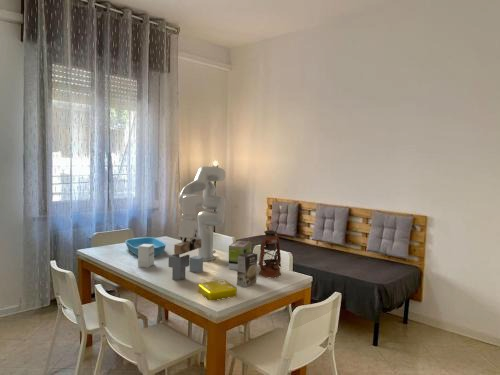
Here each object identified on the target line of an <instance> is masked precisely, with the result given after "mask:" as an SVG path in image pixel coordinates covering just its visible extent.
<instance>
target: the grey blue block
mask: <svg viewBox="0 0 500 375" xmlns="http://www.w3.org/2000/svg"><path fill="white" fill-rule="evenodd" d="M203 270H204V261H203V257H199V256H198V255H194V256H191V257H190V258H189V272H192V273H197V274H199V273H201V272H203Z"/></svg>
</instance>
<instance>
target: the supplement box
mask: <svg viewBox="0 0 500 375" xmlns="http://www.w3.org/2000/svg"><path fill="white" fill-rule="evenodd" d="M153 265H155V256H154V244H142V245H140V246H138V256H137V267H139V268H150V267H152V266H153Z"/></svg>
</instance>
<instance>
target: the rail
mask: <svg viewBox="0 0 500 375" xmlns="http://www.w3.org/2000/svg"><path fill="white" fill-rule="evenodd" d="M190 243H191V242H190V239H188V240H186V241H185V242H182V241H181V242H179V243H176V244H174V249H173V251H174V253H173V254H179V255H183V254H185V253H190V252H191V251H195V250H198V248H201V239H198V240H197V241H196V242H195V243H194V250H191V251H190Z"/></svg>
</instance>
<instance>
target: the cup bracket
mask: <svg viewBox="0 0 500 375" xmlns="http://www.w3.org/2000/svg"><path fill="white" fill-rule="evenodd" d="M190 256H191V255H190V254H185V255H183V256H180V255H179V254H174V253H173V254H170V255H169V256H168V268H172V270H171V271H172V277H171V278H172V280H174V281H182V280H184V279H186V267H190Z"/></svg>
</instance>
